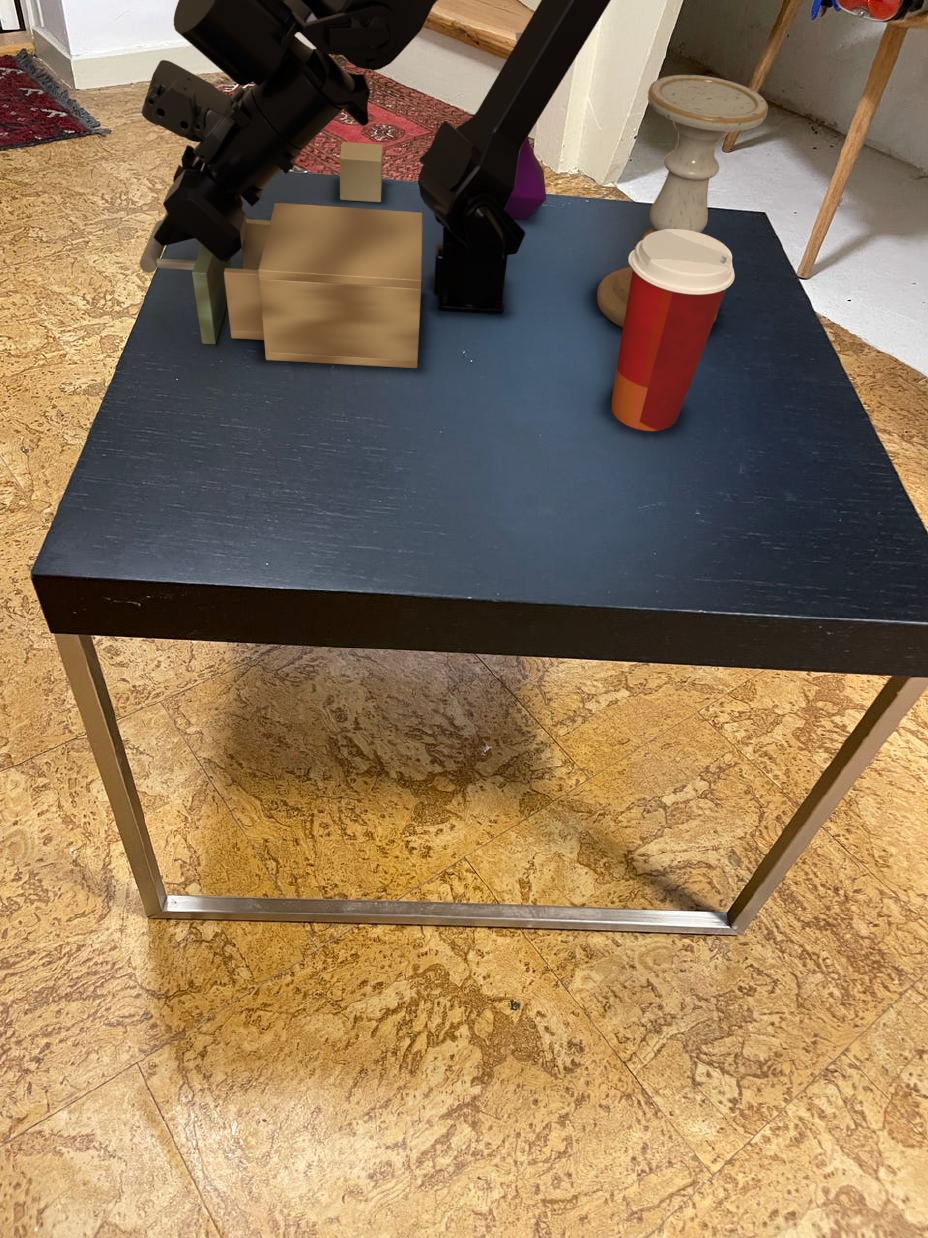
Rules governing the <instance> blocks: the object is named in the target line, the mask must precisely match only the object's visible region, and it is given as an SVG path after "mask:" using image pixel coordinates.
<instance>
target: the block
mask: <svg viewBox="0 0 928 1238" xmlns="http://www.w3.org/2000/svg"><path fill="white" fill-rule="evenodd" d="M383 149H384V145H383V144H382V143H379V144H378V143H369V142H367V143H366V142H354V141H342V142H341V147H340V151H339V161H338V163H339V199H340V201H355V202H356V201H357V202H367V203H369V202H370V203H381V202H382V190H383V159H384V157H383V156H384V155H383V154H384V151H383Z"/></svg>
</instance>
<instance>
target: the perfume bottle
mask: <svg viewBox="0 0 928 1238" xmlns="http://www.w3.org/2000/svg"><path fill="white" fill-rule="evenodd" d="M522 33H523V32H515V40H516V43H517V42H518V40H519V38H520V36H521V35H522ZM546 201H547V190H546V181H545V171H544V168H543V167H542V165H541V164H540V162H539V160H538V158H537V157H536V154H535V153H534V149H533V148H532V146H531V143H530V139H529V136H528V137H527V139H526V140H525V142H524V143H523V145H522V147H521V150H520V153H519V160H518V167H517V174H516V181H515V187H514V190H513V192H512V194H511V197H510V199H509V201H508V203H507V206H506V208H505V211H506V212H507V213H508V214H509V215H510V216H511V217H512V218H513V219H514V220H515V219H516V220H528V219H529V218H530V217H531V216H532V215H533V214H534V213H535V212H536V211H537V210H538V209H539V208H540V206H542V205H543V204H544V202H546Z"/></svg>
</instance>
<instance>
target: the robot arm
mask: <svg viewBox="0 0 928 1238" xmlns="http://www.w3.org/2000/svg"><path fill="white" fill-rule="evenodd" d="M438 1H439V0H178V1H177V4H176V7H175V10H174V15H173V28H174V30H175V32H176V33H178V34H179V36H181V37H182V38H183V39H184V40H186V41H187V42H188V43H189V44H190V45H191V46H193V47H194V48H195V49H196V50H197V51H198V52H199V53H201V55H203V56H204V57H205V58H206V59H208V61H210V63H212V64H213V65H214V66H216V67H217V68H218V69H219V70H220V71H221V72H223V73H224V74H225V75H226V76H227V77H228V78H229V79H231V80H232V81H233V82H234V83H235V84H237V85H239V86H240V87H239V88H238V89H237V90H236V91H235V92H234V93H233V94H232V95H231V96H229V95H228V94H226V93H224V92H223V91H222V90H219V89H218V88H217V87H216V86H215V85H213V84H212V83H210V82H208V81H207V80H205V79H203V78H201V77H199V76H198V75H196V74H195V73H192V72H191V71H189V70H187V69H185V68H184V67H182V66H180V65H178V64H176V63H175V62H172V61H170V60H166V59H162V60H160V61H159V63H158V64H157V66H156V68H155V70H154V72H153V74H152V76H151V79H150V83H149V86H148V88H147V91H146V94H145V95H146V96H145V98H144V102H143V105H142V109H141V115H142V117H143V118H144V119H145V120H147V121H148V122H149V123H151V124H153V125H155V126H159V127H162V128H163V129H165V130H167V131H168V132H171V133H173V134H175V135H176V136H178V137H180V138H185V139H186V140H189V141H191V142H193V143H198V144H197V145H196V146H195V147H193V146H191V145H189V144H187V145H186V147H185V148H184V151H183V154H182V156H181V159H180V160H181V164H178V166H177V168H176V170H175V172H174V174H173V178H172V184H171V186H170V187H169V188H168V189H167V190H168V191H167V193H166V195H165V197H164V200H163V202H162V205H163V207H164V209H165V211H166V213H165V214H164V216H163V217H162V222H161V223H160V225H159V227H158V229H157V230H156V232H155V235H154V239H155V240H156V241H157V242H158V243H159V244H161V245H162V246H165V247H166V246H169V245H173V244H178V243H181V242H185V241H189V240H192V239H195V240H197V241H198V242H199V243H200V245H203V246H205V247H206V248H207V249H208V250H209V251H210V252H211V253H212V254H213V255H214V256H215V257H217V258H218V259H219V260H220V261H223V262H227V261H228V260H230V259H231V260H232V258H233V257H234V256H236V254H237V253H238V252H240V250H241V248H242V245H243V241H244V238H245V234H246V230H247V222H246V219H247V213H246V212H245V211H244V206H245V203H244V201H245V202H246V203H248V205H249V206H251V208H253V206H255V205H256V204H257V203H258V202H259V201H260V200H261V199H262V198H261V197H262V194H263V192H264V191H263V190H264V188H265V187H266V186H268V184H269V183H270V182H271V181H272V180H273V179H274V178H275V177H276V176H278V174H279V173H281V172H283V173H284V174H285V175H287V174H288V173H289V172H290V171H291V170H292V169H293V168H294V167H295V165H296V160H297V156H298V154H300V153H301V152H302V151H303V150H304V149H305V148H306V147H307V146H308V145H309V144H310V143H311V142H312V141H313V140H314V139H315V138H316V137H317V136H318V134H320V133H321V132H322V131H323V130H324V129H325V128H326V127H327V126H328V125H329V124H330V123H331V122H332V121H334V119H336V117H337V116H339V114H340V113H342V112H343V111H345V112H346V113H348V115H349V116H350V117H351V118H352V119H353V120H354V121H355V122H357V124H359V125H360V126H362V127H366V126H367V125H368V124H369V108H368V105H369V98H370V94H371V89H370V86H369V82H368V78H367V76H366V75H365V74H364V73H360V74H359V73H358V74H357V73H352V72H349V71H346V70H345V69H344V68H343V67H342V66H341V65H340V64H339V63H338V62H337V61H336V60H335V59H334V58H333V57H332V56H331V55H334V56H342V57H343V58H344V59H345V60H346V61H347V62H349V63H350V64H351V65H353V66H355V67H356V68H359V69H364V70H370V71H372V72H373V71H378V70H381V69H383V68H385V67H387V66H389V65H390V64H392V63H393V62H394V60H396V59H397V57H399V55H400V54H401V53H402V52H403V51H404V50H405V49H406V47H407V46H409V45H410V43H411V42H412V41H413V40H414V39H415V38H416V37H417V35H419V34H420V32H421V31H422V29H423V28H424V25H425V24H426V22H427V19H428V18H429V16H430V14H431V12H432V10H433V7H434V6H435V4H436V3H437V2H438ZM611 1H612V0H540V2H539V4H538V5H537V7H536V8H535V11H534V12H533V14H532V16H531V17H530V19H529V21H528V23H527V24H526V26H525V28H524V29H523V31H522V32H521V33H522V35H521V36H520V38H519V40H518V42H517V41H516V43H515V45H514V47H513V48H512V50H511V52H510V53H509V55H508V57H507V59H506V60H505V62H504V64H503V66H502V67H501V69H500V71H499V73H498V74H497V76H496V78H495V80H494V81H493V83H492V85H491V86H490V88H489V90H488V91H487V93H486V95H485V97H484V99H483V101H482V102H481V104H480V105H479V107H478V108H477V110H476V112H475V113H474V114H473V116H472V117H470V118H469V119H468V120H466V121H464V122H463V123H461V124H460V125H459V126H457V127H454V126H453V125H452V124H451V123H450V122H449V121H447V120H444V121H443V122H442V123H441V124H440V126H439V127H438V128H437V131H436V134H435V136H434V139H433V141H432V143H431V145H430V147H429V148H428V149H427V151H426V152H425V153H424V154H423V155H421V157H419V160H418V161H419V162H420V163H421V164H422V167H421V169H420V171H419V173H418V177H417V185H418V190H419V195H420V198H421V200H422V201H423V204H424V205H425V206H426V207H427V208H428V209H429V210H430V211H431V212H432V213H433V216H434V220H435V221H436V222H437V223H438V224H440V225H441V226H442V227H443V228H442V239H441V242H438V243H436V244H435V253H434V269H433V270H434V271H433V272H434V273H433V294H434V295H435V296H437V304H438V305H437V307H438V309H439V310H440V311H449V312H450V311H451V312H464V313H481V314H496V315H497V314H498V315H502V314H503V313H505V301H504V300H505V299H504V290H505V281H506V274H507V266H508V258H509V257H508V256H512V255H517V254H518V252H519V250H520V248H521V246H522V243H523V241H524V239H525V235H526V231H525V230H524V229H523V228H522V227H521V226H520V225H519V224H518V222H517V221H516V220H515V219H513V218H512V217H511V216H510V215H509V214H508V213H507V212H506V211H505V208H506V206H507V203H508V201H509V199H510V197H511V194H512V192H513V190H514V187H515V181H516V174H517V167H518V160H519V153H520V150H521V147H522V145H523V143H524V142H525V140H526V139H527V137H529V135H530V134H531V132H532V131H533V129H534V127H535V125H537V122H538V121H539V119H540V117H541V115H542V114H543V112H544V111H545V109H546V108H547V106H548V104H549V103H550V101H551V99H552V98H553V97H554V95H555V93H556V91H557V90H558V88H559V86H560V85H561V84H562V81H563V80H564V78H565V76H566V75H567V73H568V71H569V70H570V69H571V66H572V65H573V63H574V62H575V60H576V58H577V57H578V56H579V54H580V51H581V50H582V49H583V47H584V45H585V44H586V42H587V40H588V39H589V37H590V35H591V34H592V32H593V31H594V29H595V27H596V26H597V24H598V22H599V21H600V19H601V17H602V16H603V14H604V13H605V11H606V9H607V7H608V6H609V5H610V3H611ZM298 33H300V34H301V35H302V36H303V38H305V39H306V40H307V41H308V42H309V43H310V44H311V45H312V46H313V47H314V48H311V47H310V46H308V45H306V43H304V42H303V41H301V39H299V38H298V37H297V36H296V35H297V34H298ZM252 83H254V84H253V85H252V86H251V87H249V86H248V85H250V84H252ZM242 86H243V87H244V86H245V87H244V88H243V87H242Z"/></svg>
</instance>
